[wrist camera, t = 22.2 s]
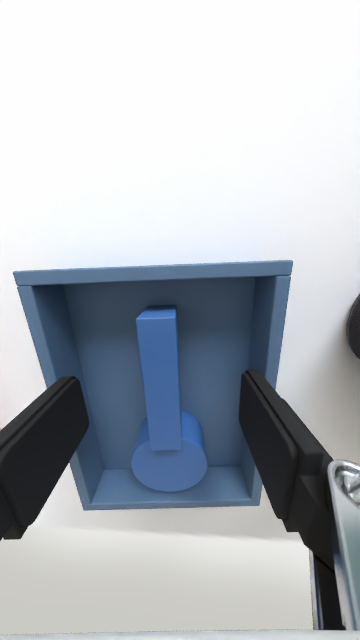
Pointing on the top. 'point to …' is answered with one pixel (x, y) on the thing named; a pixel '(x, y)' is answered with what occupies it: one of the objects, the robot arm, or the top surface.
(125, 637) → the robot arm
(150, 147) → the top surface
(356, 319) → the camera lens
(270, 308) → the blue tray
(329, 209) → the top surface
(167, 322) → the blue spoon
